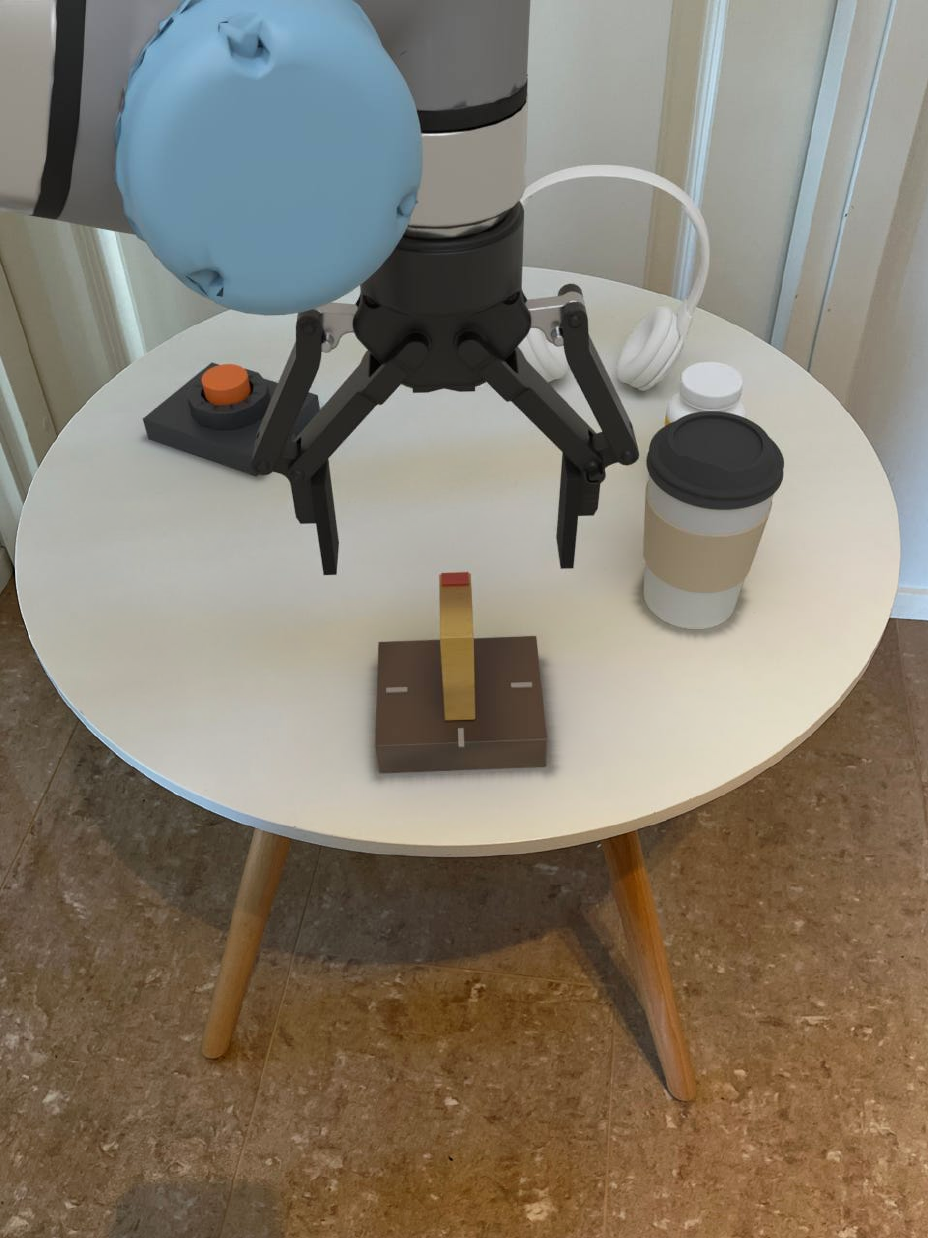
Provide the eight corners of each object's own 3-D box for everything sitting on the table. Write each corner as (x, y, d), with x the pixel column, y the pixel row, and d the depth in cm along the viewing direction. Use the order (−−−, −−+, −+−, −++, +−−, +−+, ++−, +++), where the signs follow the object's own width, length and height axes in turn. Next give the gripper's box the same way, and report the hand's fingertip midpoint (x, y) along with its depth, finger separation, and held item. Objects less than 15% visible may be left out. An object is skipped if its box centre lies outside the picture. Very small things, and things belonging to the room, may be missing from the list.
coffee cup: (658, 541, 84) (682, 381, 73) (767, 580, 81) (810, 419, 70) (609, 612, 79) (627, 451, 68) (723, 657, 76) (762, 496, 65)
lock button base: (148, 438, 95) (137, 401, 92) (216, 381, 101) (207, 345, 98) (256, 476, 91) (248, 439, 88) (321, 414, 97) (315, 377, 94)
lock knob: (475, 720, 68) (473, 634, 62) (444, 721, 68) (439, 635, 62) (473, 656, 72) (470, 569, 66) (443, 657, 72) (438, 570, 66)
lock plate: (378, 778, 69) (374, 749, 67) (381, 666, 76) (378, 636, 74) (546, 771, 69) (548, 742, 67) (534, 660, 76) (536, 630, 74)
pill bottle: (690, 457, 91) (708, 346, 83) (746, 492, 88) (771, 379, 80) (640, 488, 89) (654, 376, 81) (696, 525, 85) (717, 411, 77)
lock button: (196, 399, 93) (191, 382, 92) (223, 376, 95) (219, 359, 94) (232, 411, 91) (229, 394, 90) (259, 387, 94) (256, 370, 93)
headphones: (690, 408, 96) (724, 193, 82) (490, 396, 98) (489, 184, 84) (689, 364, 101) (721, 154, 87) (499, 354, 103) (499, 147, 89)
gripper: (706, 157, 49) (651, 508, 64) (166, 168, 49) (241, 519, 64) (741, 233, 44) (672, 595, 59) (136, 246, 43) (225, 607, 59)
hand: (448, 556), depth 62 cm, fingers open, 13 cm apart
